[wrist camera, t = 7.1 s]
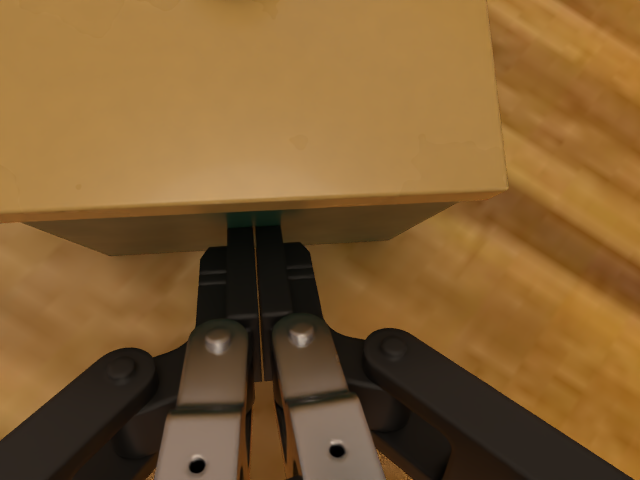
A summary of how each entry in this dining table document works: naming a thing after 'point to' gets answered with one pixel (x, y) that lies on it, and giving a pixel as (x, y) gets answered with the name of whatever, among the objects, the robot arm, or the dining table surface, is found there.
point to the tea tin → (243, 118)
